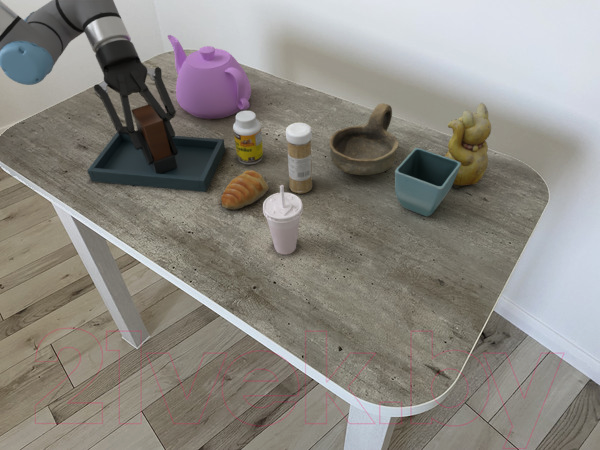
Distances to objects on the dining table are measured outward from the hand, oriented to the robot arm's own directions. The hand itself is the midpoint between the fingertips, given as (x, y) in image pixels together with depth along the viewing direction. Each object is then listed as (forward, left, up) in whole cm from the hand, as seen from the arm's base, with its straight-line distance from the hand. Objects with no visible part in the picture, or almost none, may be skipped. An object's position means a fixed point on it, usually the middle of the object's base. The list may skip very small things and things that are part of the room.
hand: (163, 158), depth 95 cm
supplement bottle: (+15, +8, -4) cm, 18 cm away
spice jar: (+27, 0, -4) cm, 28 cm away
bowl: (+39, +10, -4) cm, 41 cm away
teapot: (+1, +29, -4) cm, 29 cm away
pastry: (+17, -4, -4) cm, 18 cm away
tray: (-3, +3, -4) cm, 6 cm away
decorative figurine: (+58, +7, -4) cm, 59 cm away
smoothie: (+27, -16, -4) cm, 32 cm away
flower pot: (+50, -2, -4) cm, 51 cm away
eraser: (-2, +3, -3) cm, 5 cm away
